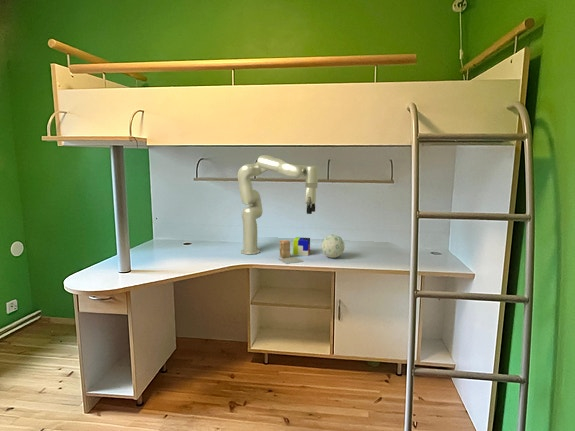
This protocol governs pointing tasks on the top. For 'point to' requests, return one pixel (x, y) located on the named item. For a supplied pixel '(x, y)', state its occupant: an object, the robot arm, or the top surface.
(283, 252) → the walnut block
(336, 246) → the puzzle ball
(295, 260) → the rubber mat
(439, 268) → the top surface
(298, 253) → the puzzle toy
